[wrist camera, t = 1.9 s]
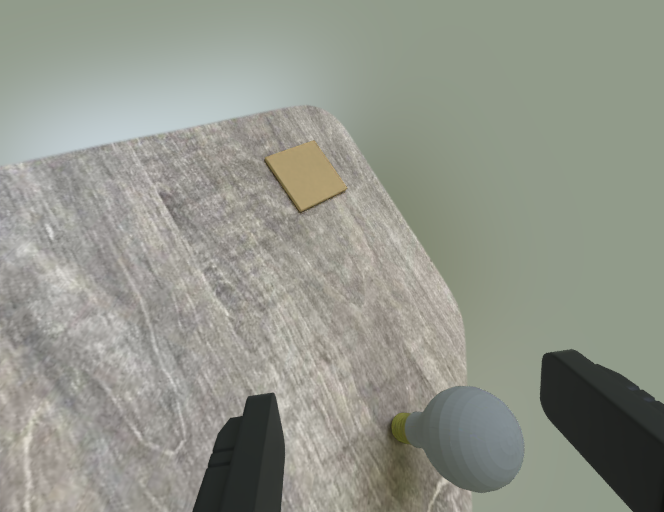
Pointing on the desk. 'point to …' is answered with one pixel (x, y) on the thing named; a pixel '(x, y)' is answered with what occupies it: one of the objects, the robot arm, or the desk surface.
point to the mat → (306, 175)
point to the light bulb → (466, 438)
